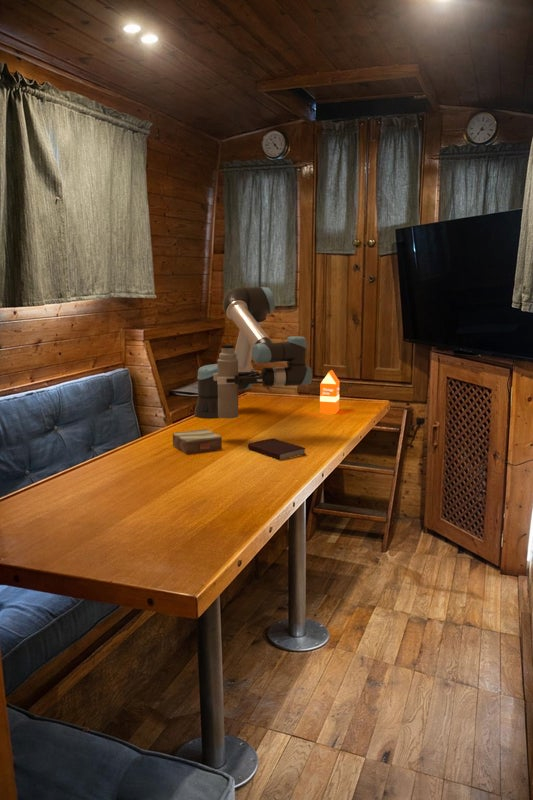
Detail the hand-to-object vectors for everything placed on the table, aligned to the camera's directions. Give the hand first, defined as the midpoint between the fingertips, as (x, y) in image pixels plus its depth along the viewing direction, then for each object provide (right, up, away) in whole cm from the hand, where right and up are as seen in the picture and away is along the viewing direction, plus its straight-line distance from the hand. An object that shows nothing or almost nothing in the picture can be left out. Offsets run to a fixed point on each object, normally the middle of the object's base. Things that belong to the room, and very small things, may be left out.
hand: (215, 378), depth 251 cm
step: (-7, -26, -5) cm, 27 cm away
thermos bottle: (+5, -15, +4) cm, 16 cm away
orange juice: (+50, -14, +60) cm, 79 cm away
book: (+23, -28, -11) cm, 38 cm away
